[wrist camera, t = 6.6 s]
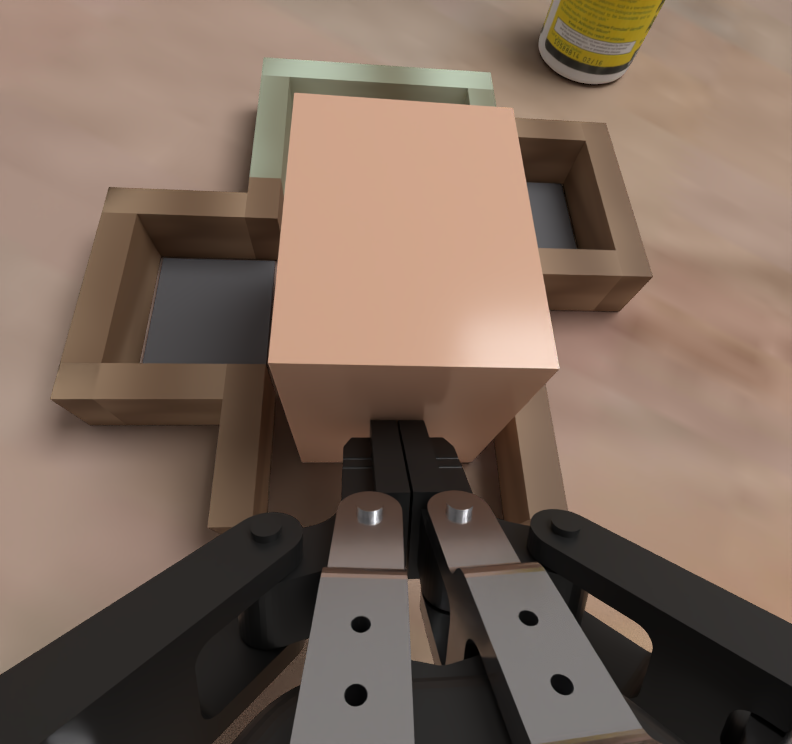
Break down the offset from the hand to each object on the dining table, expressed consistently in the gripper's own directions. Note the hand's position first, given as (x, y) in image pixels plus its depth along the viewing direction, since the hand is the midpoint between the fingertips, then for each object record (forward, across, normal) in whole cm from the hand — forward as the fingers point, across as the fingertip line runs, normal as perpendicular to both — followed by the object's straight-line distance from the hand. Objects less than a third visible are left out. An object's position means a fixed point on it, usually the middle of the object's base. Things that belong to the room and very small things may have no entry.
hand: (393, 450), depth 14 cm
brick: (+6, 0, -1) cm, 6 cm away
